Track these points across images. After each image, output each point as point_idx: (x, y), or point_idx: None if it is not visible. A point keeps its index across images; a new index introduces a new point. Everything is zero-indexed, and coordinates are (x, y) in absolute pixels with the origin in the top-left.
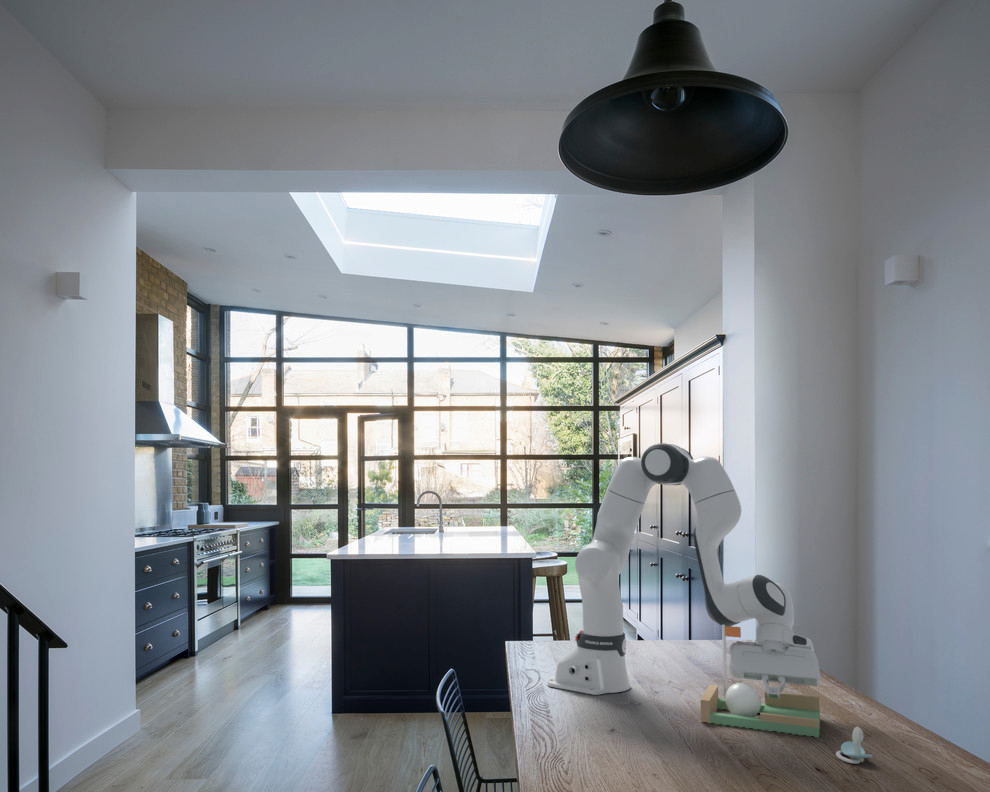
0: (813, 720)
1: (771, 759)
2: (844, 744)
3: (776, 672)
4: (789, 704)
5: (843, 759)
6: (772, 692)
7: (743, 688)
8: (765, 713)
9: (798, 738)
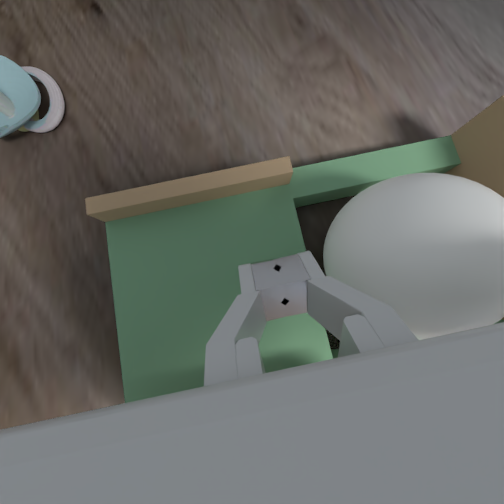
0: (102, 196)
1: (195, 4)
2: (25, 117)
3: (287, 391)
4: None
5: (42, 71)
6: (278, 259)
7: (437, 192)
8: (272, 170)
9: (172, 177)
